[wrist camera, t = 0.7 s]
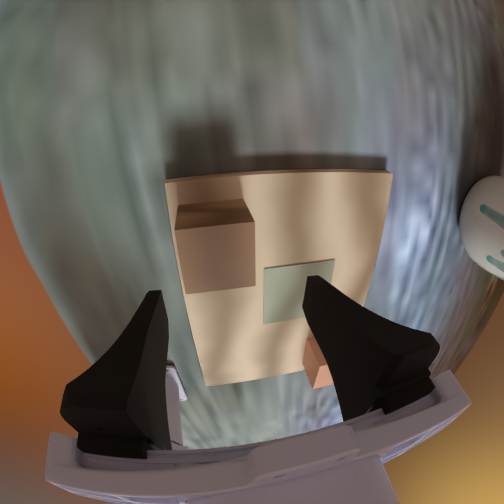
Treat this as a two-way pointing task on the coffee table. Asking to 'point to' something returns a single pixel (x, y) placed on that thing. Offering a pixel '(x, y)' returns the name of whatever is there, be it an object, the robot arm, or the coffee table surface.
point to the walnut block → (216, 245)
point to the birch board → (282, 261)
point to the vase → (485, 224)
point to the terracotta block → (316, 365)
